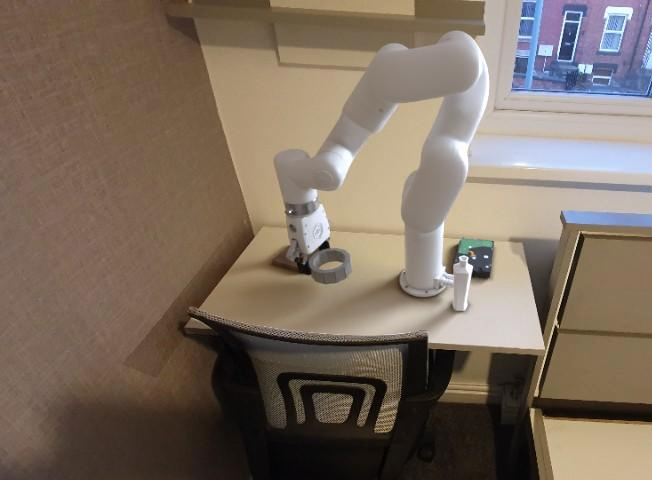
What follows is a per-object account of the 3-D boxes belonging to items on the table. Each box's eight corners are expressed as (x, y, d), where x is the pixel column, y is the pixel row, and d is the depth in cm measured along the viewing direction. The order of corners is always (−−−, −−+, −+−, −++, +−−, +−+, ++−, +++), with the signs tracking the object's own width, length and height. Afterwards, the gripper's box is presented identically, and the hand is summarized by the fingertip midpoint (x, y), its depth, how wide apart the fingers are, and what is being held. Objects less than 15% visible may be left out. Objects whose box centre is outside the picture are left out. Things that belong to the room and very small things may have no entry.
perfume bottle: (471, 311, 97) (476, 263, 89) (454, 313, 96) (457, 265, 88) (466, 298, 101) (470, 251, 92) (449, 300, 100) (452, 253, 91)
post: (325, 252, 114) (320, 226, 109) (303, 273, 106) (297, 246, 101) (295, 244, 116) (289, 218, 111) (272, 264, 109) (265, 237, 103)
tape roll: (359, 263, 103) (357, 252, 101) (338, 287, 95) (335, 276, 93) (326, 255, 106) (323, 244, 104) (303, 278, 98) (300, 267, 96)
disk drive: (490, 279, 107) (493, 247, 119) (491, 271, 106) (494, 240, 118) (452, 274, 108) (459, 243, 120) (453, 267, 107) (459, 235, 119)
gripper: (291, 226, 83) (307, 288, 93) (337, 189, 97) (346, 247, 107) (262, 219, 85) (281, 281, 95) (310, 184, 99) (322, 241, 109)
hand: (315, 263), depth 101 cm, fingers closed on tape roll, 8 cm apart
